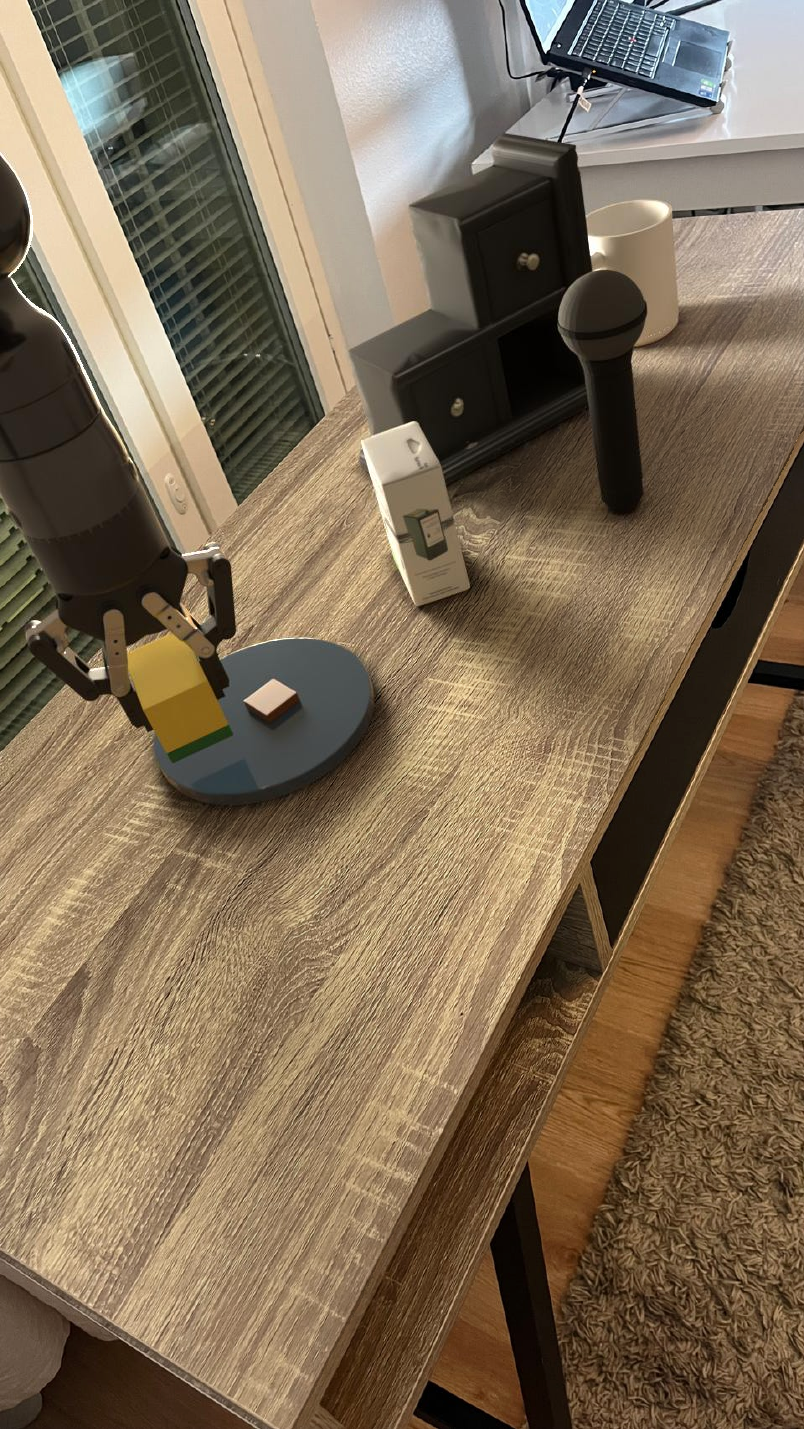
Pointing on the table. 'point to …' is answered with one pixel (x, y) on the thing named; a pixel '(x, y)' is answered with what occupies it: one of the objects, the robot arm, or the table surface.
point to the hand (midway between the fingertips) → (183, 707)
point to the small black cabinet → (486, 311)
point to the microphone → (609, 376)
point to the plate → (279, 724)
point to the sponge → (177, 697)
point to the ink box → (416, 512)
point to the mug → (639, 257)
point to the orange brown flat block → (271, 700)
